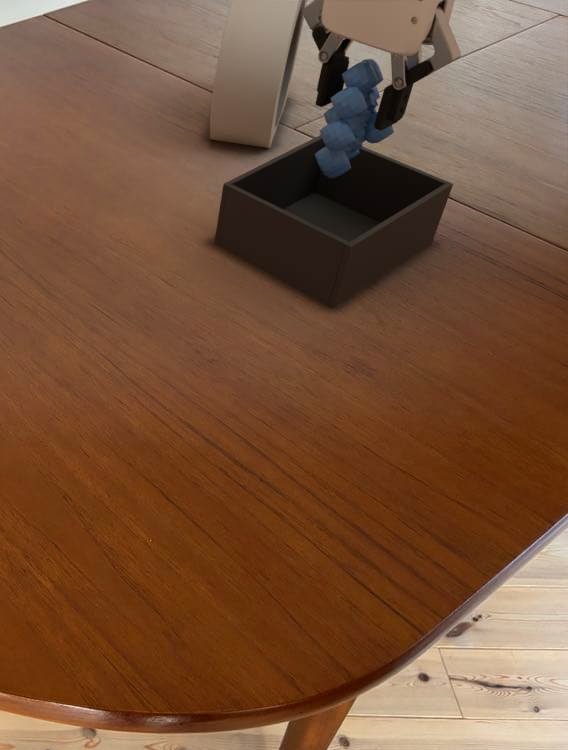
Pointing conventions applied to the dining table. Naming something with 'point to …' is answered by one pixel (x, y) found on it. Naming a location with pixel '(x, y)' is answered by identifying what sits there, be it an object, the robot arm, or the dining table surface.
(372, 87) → the grapes
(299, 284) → the basket
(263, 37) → the alarm clock
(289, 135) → the dining table surface
